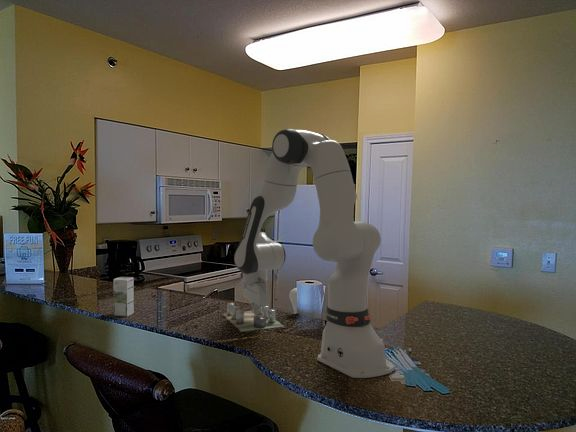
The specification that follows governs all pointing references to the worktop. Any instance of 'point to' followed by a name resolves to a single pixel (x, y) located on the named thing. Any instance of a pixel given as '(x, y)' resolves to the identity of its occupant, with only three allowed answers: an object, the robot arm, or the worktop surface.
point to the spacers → (239, 314)
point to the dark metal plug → (259, 322)
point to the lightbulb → (294, 299)
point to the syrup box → (123, 296)
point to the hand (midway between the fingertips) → (255, 313)
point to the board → (251, 322)
